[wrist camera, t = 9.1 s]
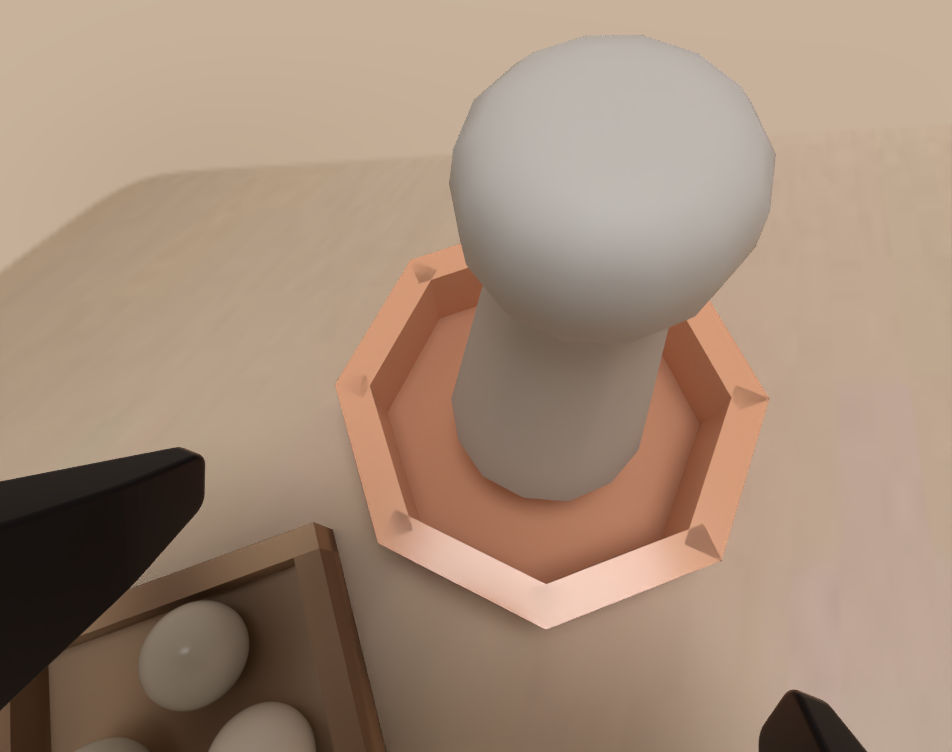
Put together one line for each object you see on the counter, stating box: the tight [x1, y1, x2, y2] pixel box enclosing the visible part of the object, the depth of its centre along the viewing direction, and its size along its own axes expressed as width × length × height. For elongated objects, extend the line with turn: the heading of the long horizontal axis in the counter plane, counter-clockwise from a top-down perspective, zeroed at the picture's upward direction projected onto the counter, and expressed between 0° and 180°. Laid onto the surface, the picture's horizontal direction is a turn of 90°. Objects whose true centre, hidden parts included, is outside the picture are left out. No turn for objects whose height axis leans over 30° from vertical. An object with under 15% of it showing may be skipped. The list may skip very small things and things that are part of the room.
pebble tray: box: [0, 523, 386, 752], centre depth 15 cm, size 10×8×2 cm
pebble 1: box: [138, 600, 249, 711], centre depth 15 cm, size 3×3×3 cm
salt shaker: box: [449, 35, 776, 501], centre depth 12 cm, size 6×6×13 cm
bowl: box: [335, 244, 769, 630], centre depth 18 cm, size 12×12×4 cm
